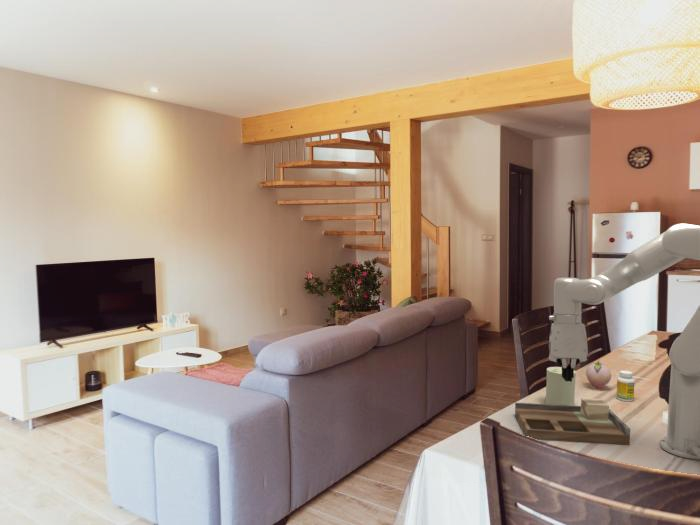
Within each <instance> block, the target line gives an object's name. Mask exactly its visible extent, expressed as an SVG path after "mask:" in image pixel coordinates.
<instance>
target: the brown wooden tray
mask: <svg viewBox="0 0 700 525" xmlns="http://www.w3.org/2000/svg"><path fill="white" fill-rule="evenodd" d="M514 404H515V406H514V407H515V408H514V417H515V419H516V420H517V422H518V423H519V426H520V428H521V430H522V432H523V433H524V436H525V437H526V436H529V437H532V438H535V439H534V440H541V441H556V442H557V441H559V442H576V443H592V444H593V443H594V444H609V445H627V446H628V445H629V446H630V445H631V444H630V441H631V428H630V427H629V426H628V425H627V424H626V423H625V422H624V421H623V420H622V419H621V418H620V417H618V415H616V414H615V413H614V411H612V410H611V408H609V419H608V421H605V420H587V419H586V418H585V417H584V416H583V415H582V414H581V405H575V406H570V405H551V404H546V403H529V402H515V403H514Z"/></svg>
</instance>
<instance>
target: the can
mask: <svg viewBox="0 0 700 525" xmlns="http://www.w3.org/2000/svg"><path fill="white" fill-rule="evenodd" d="M576 375H577V371H576V370H575V369H574V378H572V382H570V381H568V382H566V381H565V380H564V378H562V366H549V367H547V368H546V385H545V386H546V388H545V389H546V390H545V403H544V404H551V405H570V406H576V405H575V394H576V391H575V390H576Z"/></svg>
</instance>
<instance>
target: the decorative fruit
mask: <svg viewBox="0 0 700 525" xmlns="http://www.w3.org/2000/svg"><path fill="white" fill-rule="evenodd" d="M585 374H586V378H587V381H588V382H589V383H590V384H591V386H592V387H594V388H595V389H598V388H601V387H605V386H606V385H608V384H609V382H611V379H612V373H611V371H610V369H609V368H608V366H606V365H603V364H602V363H600V361H597V362H595V363H592V364H590V365H589V366H588V367H587V368H586V371H585Z"/></svg>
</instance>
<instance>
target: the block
mask: <svg viewBox="0 0 700 525" xmlns="http://www.w3.org/2000/svg"><path fill="white" fill-rule="evenodd" d="M580 406H581V414H582V415H583V416H584V417H585V418H586V419H587V420H605V421H608V419H609V409H610V405H609V404H608V403H606V401H604V400H603V399H602V398H583V397H581V398H580Z"/></svg>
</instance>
